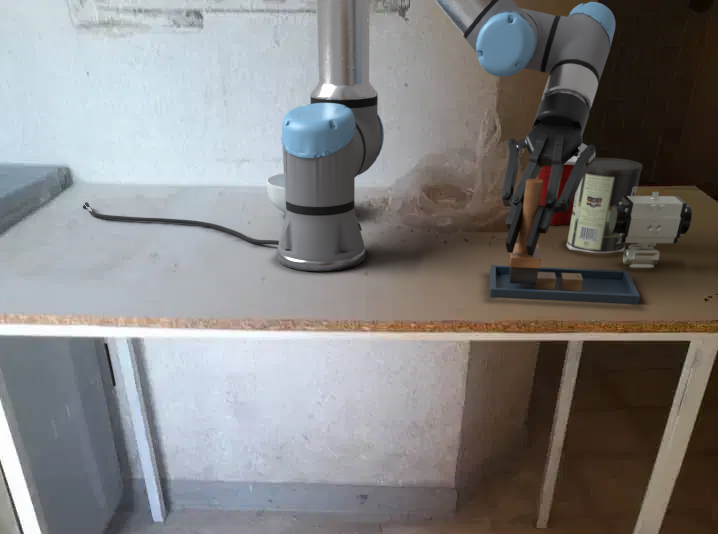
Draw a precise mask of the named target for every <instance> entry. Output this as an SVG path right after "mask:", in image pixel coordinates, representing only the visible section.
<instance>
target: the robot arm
mask: <svg viewBox="0 0 718 534" xmlns="http://www.w3.org/2000/svg"><path fill="white" fill-rule="evenodd" d="M315 2H316V3H315V4H316V33H317V35H316V36H317V68H318V69H317V70H318V71H317V72H318V82H317V85H316V86H315V87H314V89H312V91H311V92H310V95H309V97H310V103H309V104H306V105H300V106H297V107H296V106H295V107H294V108H292V109H290V110H288V111H287V112H286V114H284V116H283V119H282V123H281V136H280V141H281V142H280V143H281V146H282V162H283V173H284V182H285V199H286V213H285V217H284V221H283V224H282V228H281V231H280V236H279V240H276V239H275V240H274V239H256V238H253V237H250V236H247V235H246V234H243V233H242V232H239V231H237V230H235V229H231V228H228V227H225V226H222V225H219V224H215V223H211V222H207V221H206V222H205V221H199V220H193V219H192V220H191V219H178V218H165V217H164V218H163V217H138V216H125V215H110V214H103V213H99V212H95V211H93V210H92V211H93V212H91V211H88V213H89V214H90V215H91V216H93V217H96V218H99V219H107V220H115V221H116V220H117V221H126V222H127V221H129V222H147V223H152V222H153V223H167V224H180V225H181V224H182V225H183V224H184V225H193V226H201V227H208V228H212V229H216V230H220V231H222V232H225V233H228V234H230V235H234V236H236V237H238V238H240V239H242V240H243V241H246V242H249V243H251V244H255V245H271V246H277V260H278V262H279V263H280V264H281V265H283V266H285V267H288V268H290V269H294V270H298V271H299V270H300V271H306V272H332V271H341V270H345V269H349V268H353V267H355V266H358V265H359V264H361V263H362V262H363V261H364V260H365V258H366V246H365V242H364V238H363V235H362V232H363V229H362V226H361V223H359V222H358V219H357V216H356V210H355V178H356V177H358V176H361V175H362V174H364V173H365V172H367V171H368V170H369V169H371V167H372V166H373V165H374V164H375V162H377V161H376V160H377V159H378V158H379V156H380V154H381V151H382V150H383V145H384V141H385V130H384V125H383V121H382V119H381V117H380V115H379V113H378V109H379V107H378V103H379V101H378V100H379V99H378V98H379V97H378V95H379V94H378V91H377V90H376V88H375V87H373V85H372V84H371V82H370V0H315ZM433 2H434V3H435V4H436V5H437V6H438V7H439V9H440V10H441V11H442V12H443V13H444V14H445V16H446V17H447V19H449V21H450V22H451V23H452V24H453V25H454V27H455V28H456V29H457V30H458V32H460V34H461V35H462V36H463V38H464V39H465V40H466V42H467V43H468V44H469V45H470V47H471V49H472V50H474V52H475V53H476V57H477V59H478V63H479V65H480V66H481V68H482V69H483V70H484V71H485V72H486V73H488V74H489V75H492V76H494V77H500V78H501V77H504V78H506V77H511V76H514V75H517V73H519V72H521V71H523V70H524V69H525V70H531V71H536V72H540V73H546V74H548V79H547V80H546V84H545V87H544V89H543V93H542V96H541V99H540V102H539V105H538V109H537V112H536V114H535V118H534V121H533V124H532V127H531V129H530V131H529V132H527V134H526V136H525V138H523V139H520V140H516V139H514V138H510V139H509V140H508V141H507V147H508V152H509V153H508V160H507V164H506V170H505V175H504V179H503V185H502V190H501V200H502V204H503V207H505V208H508V207H509V210H508V213H507V216H506V220H505V224H506V228H507V230H508V233H507V237H506V240H505V242H504V243H505V249H506V252H507V253H508V254H510V253H513V250H514V247H515V244H516V243H517V241H518V238H519V234H520V226H521V218H522V210H523V202H524V194H525V186H526V180H528V179H537V178H538V174H539V173H540V171H541V169H542V167H544V166H550V167H552V168H551V174H550V179H549V185H548V190H547V196H546V200H545V208H544V206H542V205H539V207H538V210H537V213H536V217H535V220H534V223H533V226H532V229H531V232H530V235H529V238H528V241H527V245H526V247H527V252H528V255H531V256H533V254H534V251H535V248H536V245H537V244H538V241H539V239H540V235H541V234H547V233H548V231H549V229H550V226H551V225H550V223H551V220H552V217H553V215H554V214H555V213H557V212H561V213H566V212H567V211H568V209H569V206H570V204H571V202H572V200H573V198H574V195H575V193H576V191H577V189H578V187H579V184H580V182H581V180H582V178H583V176H584V173H585V171H586V169H587V168H588V167H589V166H590V165H591V164H592V163H593V162H594V160H595V158H596V146H595V144H589V145H587V144H585V143H583V136H584V135H583V134H584V131H585V128H586V125H587V123H588V120H589V116H590V111H591V109H592V107H593V103H594V100H595V98H596V94H597V90H598V87H599V83H600V80H601V78H602V74H603V72H604V68H605V66H606V63H607V60H608V57H609V53H610V51H611V47H612V42H613V38H614V35H615V31H616V19H615V16H614V14H613V12H612V10H611V9H610V8H608V6H606V5H605V4H603V3H600V2H597V1H589V2H587V3H580V4H577V5H576V6H574V7H573V8H572V10H571V11H570V12H569V14H568V16H565V15H554V14H549V13H546V12H541V11H538V10H537V11H536V10H532V9H528V8H523V7H519V5H518V4H517V3H516V1H514V0H433ZM526 149H527V151H528V153H529V155H530V156H529V159H528V164H527V166H526V168H525V170H524V172H523V174H522V176H521V179H520V181H519V182H518V185H517V187H516V181H517V177H518V171H519V167H520V159H521V158H522V156H523V154H524V151H525V150H526ZM575 155H577V157H578V159H577V161H576V163H575V165H574V167H573V169H572V172H571V174H570V176H569V178H568V180H567V183H566V185H565V187H564V189H563V191H562V194H561V196H560V198H559V199H557V197H558V191H559V185H560V180H561V175H562V172H563V166H564V164H565V163H566V162H567V161H568V160H569V159H571V158H572V157H573V156H575ZM515 188H516V189H515ZM84 203H85V205H86V206H87V207H90V208H91V205H90V203H89V202H88V201H86V202H84ZM85 205H84V204H83V205H82V209H83V208H84V209H83V210H87V208H86V206H85ZM89 205H90V206H89ZM103 346H104V350H105V354H106V359H107V364H108V369H109V374H110V379H111V383H112V386H113V387H116V386H117V385H116V384H117V383H116V379H115V374H114V368H113V364H112V358H111V354H110V350H109V344H108V342H107V343H105V342H104V343H103Z"/></svg>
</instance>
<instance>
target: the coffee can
mask: <svg viewBox="0 0 718 534" xmlns="http://www.w3.org/2000/svg"><path fill="white" fill-rule="evenodd" d="M643 166H644V165H643V164H642V162H641V163H640V162H638V161H635V160H632V159H625V158H614V157H595V160H594V162H593V163H592V164H591V165H590V166H589V167H588V168H587V169H586V171H585V173H584V176H583V178H582V180H581V182H580V184H579V187H578V189H577V191H576V193H575V199H574V205H573V211H572V216H571V219H570V222H569V230H568V236H567V242H566V247H567V248H568V249H569V250H571V251H582V252H588V253H596V254H610V253H624V252H625V250H626V244H627V243H621V242H620V241H619V240H618V238H617V237H616V236H615V233H610V231H609V218H610V213H611V210H612V208H613V206H614V205H619V202H621V201H622V196H637V192H638V191H637V190H638V187H639V181H640V176H641V172H642V170H643Z"/></svg>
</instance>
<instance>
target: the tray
mask: <svg viewBox="0 0 718 534" xmlns="http://www.w3.org/2000/svg"><path fill="white" fill-rule="evenodd" d="M538 272H554V273H555V276H556V283H555V289H554V290H542V289H535V288H534V284H516V283H510V282H509V265H505V264H503V265H501V264H497V265H496V264H490V268H489V298H497V299H498V298H502V299H520V300H539V301H540V300H543V301H558V302H559V301H562V302H577V303H578V302H580V303H581V302H582V303H601V304H618V305H619V304H622V305H639V304H640V299H641V295H640V293H639V291H638V289H637V287H636V285H635V283H634V281H633V278H632V276H631V274H630V271H629V270H617V269H598V268H597V269H596V268H595V269H593V268H574V267H573V268H572V267H570V268H569V267H549V266H548V267H547V266H540V268H539V269H538ZM561 273H579V274H581V275H582V279H583V283H582V288H581V291H563V290H561V288H560V278H561Z"/></svg>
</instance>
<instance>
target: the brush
mask: <svg viewBox="0 0 718 534" xmlns="http://www.w3.org/2000/svg"><path fill="white" fill-rule="evenodd" d="M542 186H543V180H540V179H538V178H536V179H528V180H526V186H525V194H524V202H523V210H522V218H521V226H520V231H519V234H518V242H516V244H515V247H514V250H513V253H509V264H508V266H509V282H510V283H516V284H536V283H537V276H538V269H539V268H540V267H541V265H542V253H541V248H540V244H539V243H537V245H536V248H535V251H534V254H533V256H531V255H528V252H527V247H526V245H527V241H528V238H529V235H530V232H531V229H532V226H533V223H534V220H535V217H536V213H537V210H538V207H539V205H540V200H541V193H542Z"/></svg>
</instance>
